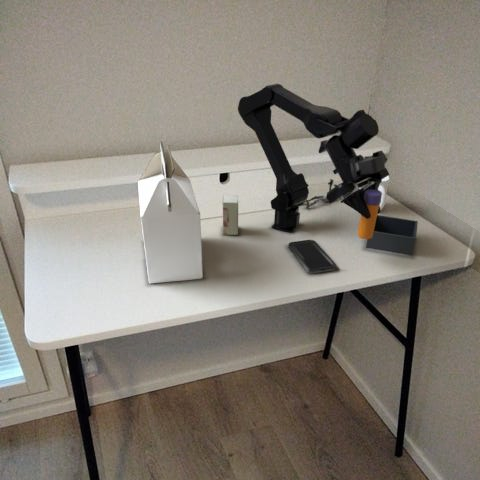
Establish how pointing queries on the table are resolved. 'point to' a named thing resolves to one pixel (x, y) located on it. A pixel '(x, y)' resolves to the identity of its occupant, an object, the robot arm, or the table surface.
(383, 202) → the mug
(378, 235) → the organizer
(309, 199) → the zombie figurine
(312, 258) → the phone
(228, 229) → the cosmetics bottle
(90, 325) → the table surface
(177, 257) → the gable box
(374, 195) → the glue stick
